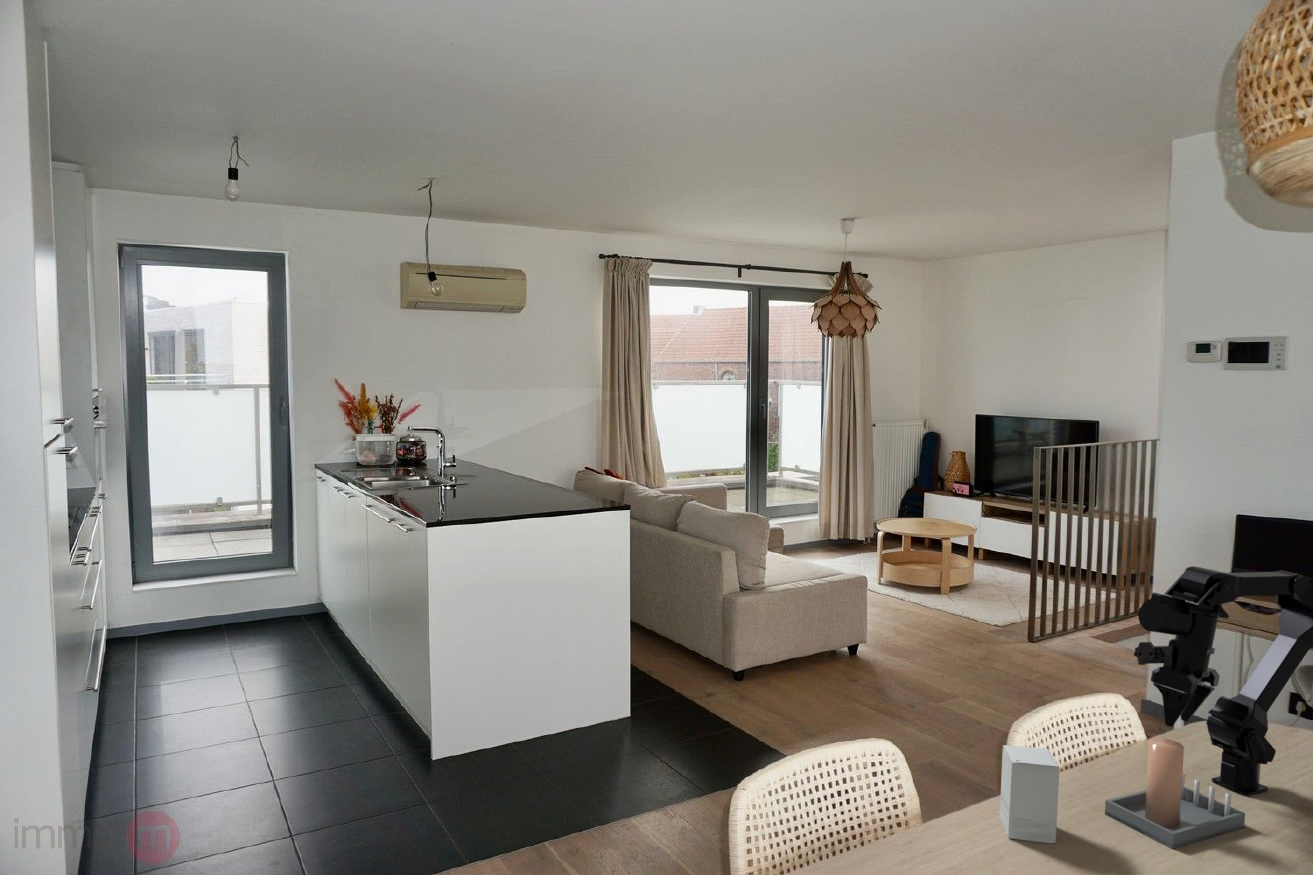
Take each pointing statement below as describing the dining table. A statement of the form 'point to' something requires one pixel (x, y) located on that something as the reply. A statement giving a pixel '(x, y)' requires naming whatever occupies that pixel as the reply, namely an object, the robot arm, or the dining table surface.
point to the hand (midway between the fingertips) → (1176, 723)
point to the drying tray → (1196, 816)
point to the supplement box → (1029, 794)
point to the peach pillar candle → (1164, 782)
